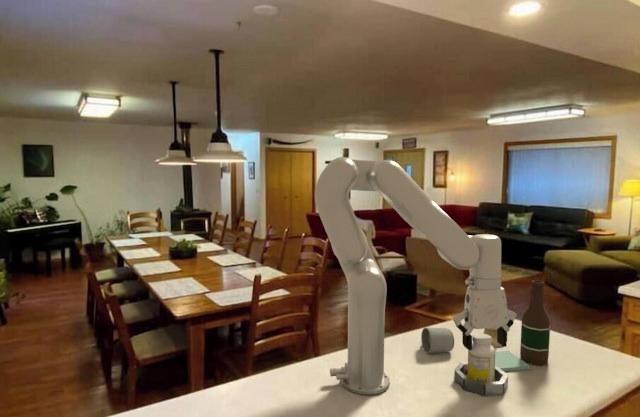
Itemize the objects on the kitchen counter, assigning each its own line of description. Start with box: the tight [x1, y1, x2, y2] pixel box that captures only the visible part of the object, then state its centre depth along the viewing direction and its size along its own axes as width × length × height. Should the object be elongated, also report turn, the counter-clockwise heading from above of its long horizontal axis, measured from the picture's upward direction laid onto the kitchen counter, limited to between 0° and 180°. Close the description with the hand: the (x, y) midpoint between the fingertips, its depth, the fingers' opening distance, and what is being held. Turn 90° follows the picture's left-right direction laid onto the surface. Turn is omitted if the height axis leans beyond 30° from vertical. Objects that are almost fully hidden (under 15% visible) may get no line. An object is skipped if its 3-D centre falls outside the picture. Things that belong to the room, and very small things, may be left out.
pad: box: [495, 350, 531, 372], centre depth 121 cm, size 10×10×1 cm
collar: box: [453, 361, 509, 398], centre depth 109 cm, size 12×12×3 cm
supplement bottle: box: [467, 332, 496, 383], centre depth 108 cm, size 7×7×13 cm
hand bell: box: [482, 327, 504, 348], centre depth 134 cm, size 8×8×16 cm
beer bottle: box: [519, 279, 551, 367], centre depth 121 cm, size 8×8×24 cm
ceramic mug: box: [420, 326, 455, 354], centre depth 129 cm, size 11×8×8 cm
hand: (484, 346), depth 108 cm, fingers open, 9 cm apart
